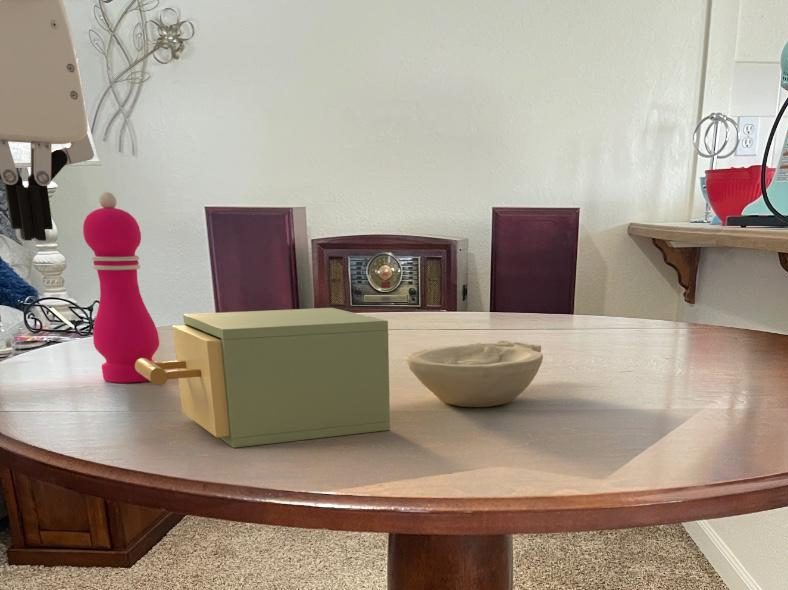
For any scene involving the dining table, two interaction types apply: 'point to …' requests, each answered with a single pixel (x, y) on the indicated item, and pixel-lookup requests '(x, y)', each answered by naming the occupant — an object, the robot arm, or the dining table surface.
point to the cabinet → (301, 373)
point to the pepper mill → (119, 293)
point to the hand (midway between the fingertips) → (33, 239)
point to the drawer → (195, 377)
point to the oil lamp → (477, 372)
